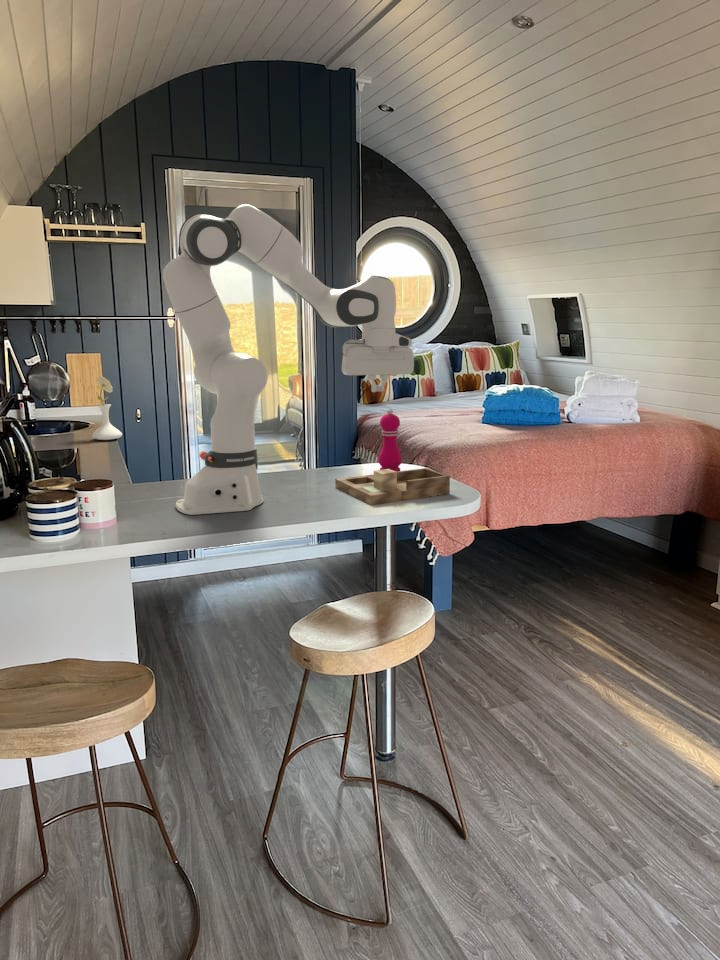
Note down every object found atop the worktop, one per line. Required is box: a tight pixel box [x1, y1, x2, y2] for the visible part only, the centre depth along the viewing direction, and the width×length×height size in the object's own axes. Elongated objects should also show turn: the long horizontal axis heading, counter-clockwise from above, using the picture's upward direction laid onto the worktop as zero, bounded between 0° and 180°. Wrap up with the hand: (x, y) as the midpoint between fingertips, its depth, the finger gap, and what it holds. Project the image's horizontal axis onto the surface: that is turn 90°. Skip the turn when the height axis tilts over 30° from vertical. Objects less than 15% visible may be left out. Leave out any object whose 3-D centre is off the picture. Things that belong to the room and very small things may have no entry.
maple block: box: [373, 469, 397, 490], centre depth 199 cm, size 4×4×4 cm
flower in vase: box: [91, 375, 123, 441], centre depth 294 cm, size 13×11×25 cm
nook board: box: [334, 467, 451, 506], centre depth 206 cm, size 24×22×5 cm
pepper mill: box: [377, 408, 403, 472], centre depth 226 cm, size 7×7×20 cm
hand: (377, 391), depth 201 cm, fingers closed
